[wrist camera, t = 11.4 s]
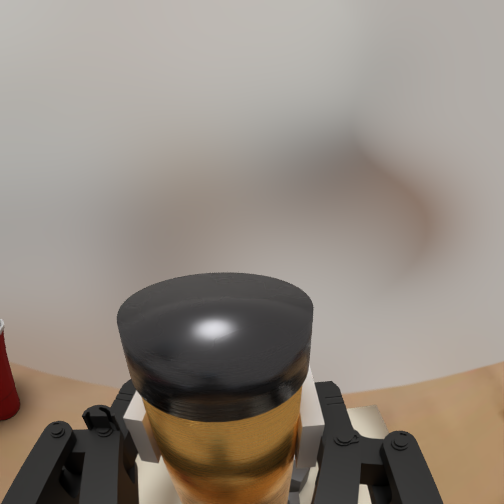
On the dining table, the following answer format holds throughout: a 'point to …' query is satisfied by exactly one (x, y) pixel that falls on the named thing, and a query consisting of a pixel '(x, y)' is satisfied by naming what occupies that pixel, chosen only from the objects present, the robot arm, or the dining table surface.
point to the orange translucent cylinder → (221, 380)
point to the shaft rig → (303, 479)
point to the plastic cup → (6, 383)
